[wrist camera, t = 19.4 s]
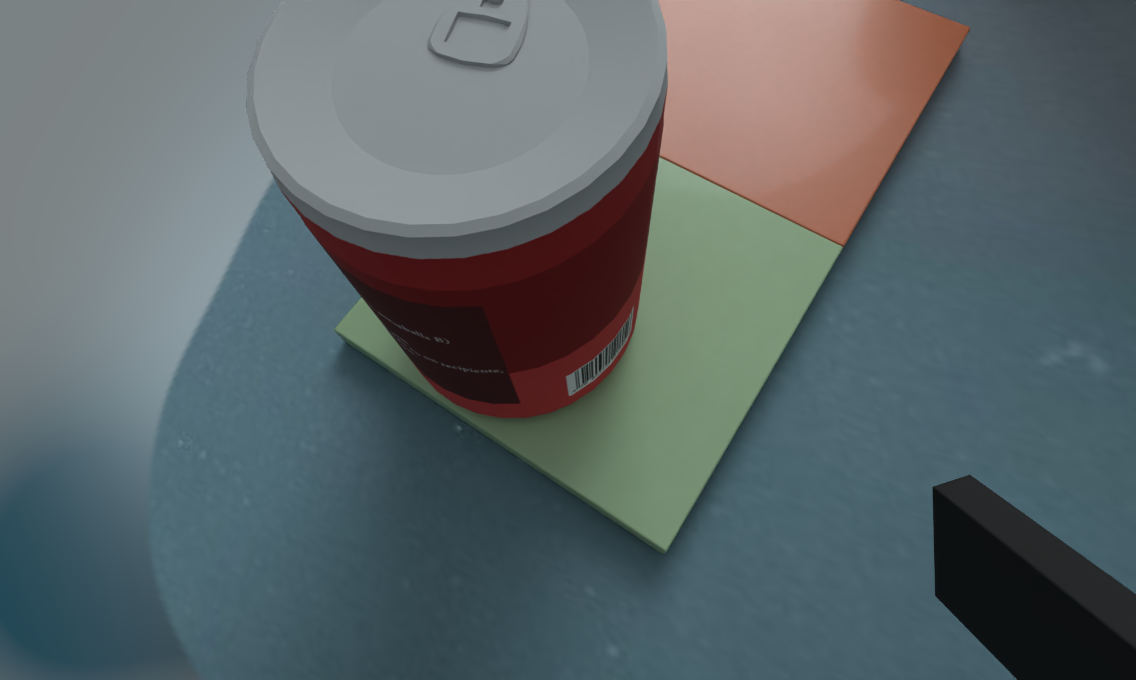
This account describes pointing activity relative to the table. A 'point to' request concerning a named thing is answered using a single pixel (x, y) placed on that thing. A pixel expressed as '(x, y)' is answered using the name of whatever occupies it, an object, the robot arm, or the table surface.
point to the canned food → (475, 177)
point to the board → (726, 238)
